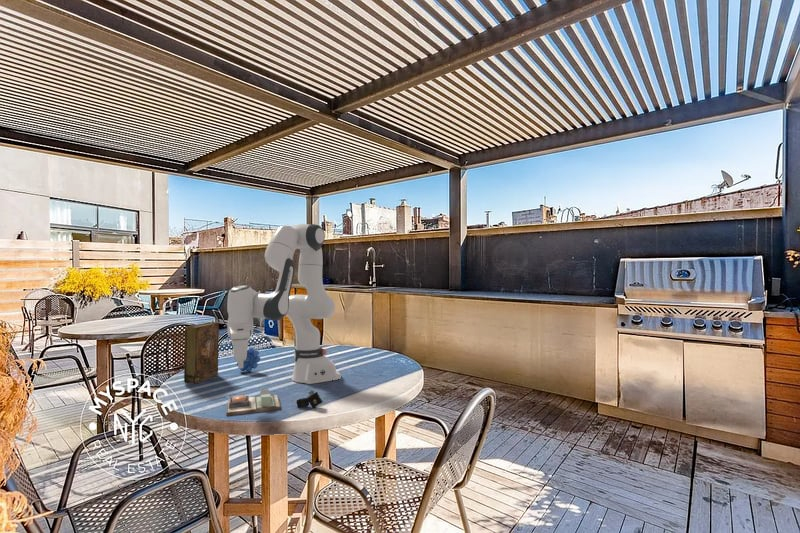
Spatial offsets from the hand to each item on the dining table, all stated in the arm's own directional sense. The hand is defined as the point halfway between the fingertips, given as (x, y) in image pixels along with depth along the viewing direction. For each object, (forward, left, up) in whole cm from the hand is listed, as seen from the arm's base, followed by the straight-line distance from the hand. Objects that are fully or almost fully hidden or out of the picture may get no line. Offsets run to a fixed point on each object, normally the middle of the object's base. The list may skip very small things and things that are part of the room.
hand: (240, 367), depth 142 cm
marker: (-9, 0, -13) cm, 16 cm away
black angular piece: (-24, +9, -15) cm, 29 cm away
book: (+16, -44, -15) cm, 49 cm away
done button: (0, 0, -13) cm, 13 cm away
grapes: (-4, -51, -15) cm, 53 cm away
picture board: (-5, 0, -15) cm, 15 cm away
